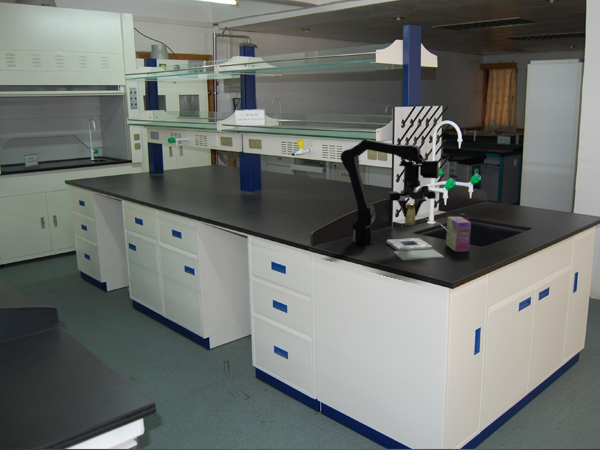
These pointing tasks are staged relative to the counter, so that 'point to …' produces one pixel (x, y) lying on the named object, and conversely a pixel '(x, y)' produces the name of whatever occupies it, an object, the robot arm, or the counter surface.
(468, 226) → the box
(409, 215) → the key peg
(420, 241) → the white marble square slab
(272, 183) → the counter surface
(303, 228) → the counter surface
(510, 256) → the counter surface
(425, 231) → the counter surface
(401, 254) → the mat
